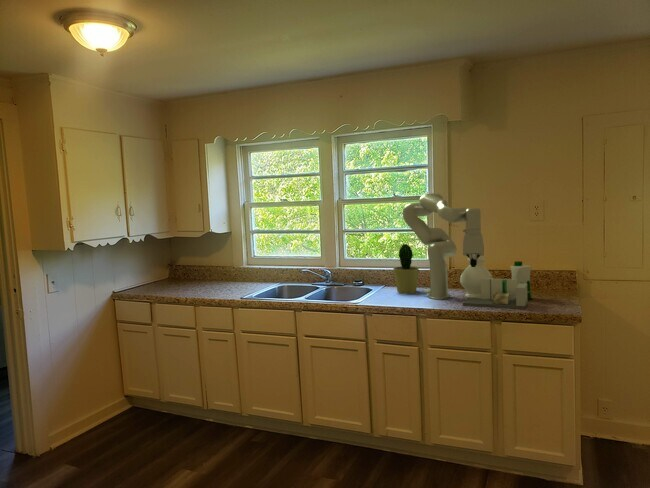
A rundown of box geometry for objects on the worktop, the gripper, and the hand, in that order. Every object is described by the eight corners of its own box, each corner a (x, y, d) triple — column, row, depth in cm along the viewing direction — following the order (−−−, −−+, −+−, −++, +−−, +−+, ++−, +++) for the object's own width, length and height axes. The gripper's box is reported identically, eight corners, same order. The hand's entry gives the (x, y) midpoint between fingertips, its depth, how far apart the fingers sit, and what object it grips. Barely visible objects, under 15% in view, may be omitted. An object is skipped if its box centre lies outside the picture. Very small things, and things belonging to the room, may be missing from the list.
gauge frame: (463, 305, 256) (462, 282, 255) (468, 300, 267) (467, 277, 266) (524, 309, 242) (524, 284, 241) (527, 303, 254) (527, 279, 252)
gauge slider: (492, 303, 250) (492, 285, 250) (495, 299, 259) (495, 281, 258) (507, 304, 247) (507, 285, 246) (510, 300, 256) (509, 282, 255)
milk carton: (522, 296, 270) (522, 260, 268) (533, 299, 261) (533, 262, 260) (509, 298, 268) (508, 261, 266) (519, 301, 259) (519, 263, 257)
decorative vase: (500, 296, 273) (499, 252, 271) (474, 300, 267) (473, 254, 265) (479, 291, 290) (478, 249, 288) (454, 295, 283) (452, 252, 281)
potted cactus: (389, 291, 305) (387, 243, 302) (412, 288, 309) (410, 241, 306) (400, 295, 290) (398, 245, 287) (424, 292, 295) (422, 243, 292)
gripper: (457, 232, 255) (457, 267, 257) (486, 232, 248) (487, 268, 250) (460, 231, 262) (460, 265, 264) (489, 231, 255) (489, 266, 257)
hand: (473, 266), depth 257 cm, fingers closed
